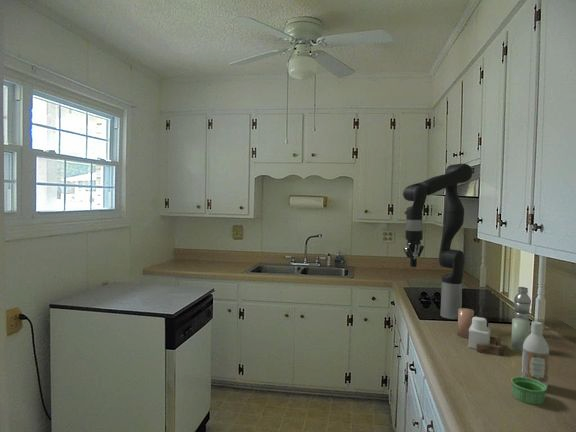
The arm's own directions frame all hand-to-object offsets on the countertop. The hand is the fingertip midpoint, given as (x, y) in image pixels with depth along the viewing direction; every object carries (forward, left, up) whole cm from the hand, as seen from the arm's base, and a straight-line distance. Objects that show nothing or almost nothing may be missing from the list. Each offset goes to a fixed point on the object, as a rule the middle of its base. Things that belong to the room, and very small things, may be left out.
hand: (413, 266), depth 181 cm
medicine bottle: (+3, +33, -27) cm, 42 cm away
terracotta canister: (-5, +23, -27) cm, 35 cm away
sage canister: (-9, +43, -27) cm, 51 cm away
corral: (+1, +35, -27) cm, 44 cm away
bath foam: (+21, +59, -27) cm, 68 cm away
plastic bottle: (-28, +36, -27) cm, 53 cm away
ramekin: (+31, +61, -27) cm, 74 cm away
